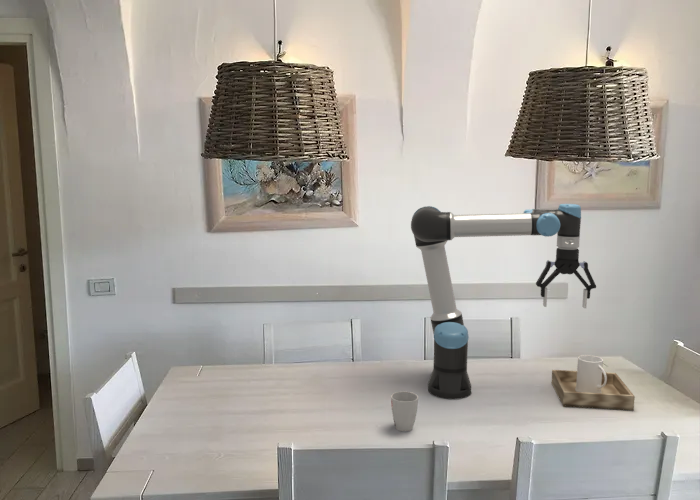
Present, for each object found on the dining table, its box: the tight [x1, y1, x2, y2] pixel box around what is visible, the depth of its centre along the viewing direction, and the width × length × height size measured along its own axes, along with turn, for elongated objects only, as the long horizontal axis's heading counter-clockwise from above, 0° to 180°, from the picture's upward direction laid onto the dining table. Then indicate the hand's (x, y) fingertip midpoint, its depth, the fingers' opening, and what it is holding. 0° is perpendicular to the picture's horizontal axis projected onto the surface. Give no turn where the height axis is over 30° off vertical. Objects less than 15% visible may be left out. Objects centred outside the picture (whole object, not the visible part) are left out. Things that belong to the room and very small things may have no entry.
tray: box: [550, 369, 636, 412], centre depth 209 cm, size 22×22×5 cm
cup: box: [390, 390, 419, 432], centre depth 183 cm, size 8×8×10 cm
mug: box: [575, 354, 607, 393], centre depth 208 cm, size 12×8×12 cm
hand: (564, 306), depth 217 cm, fingers open, 13 cm apart
